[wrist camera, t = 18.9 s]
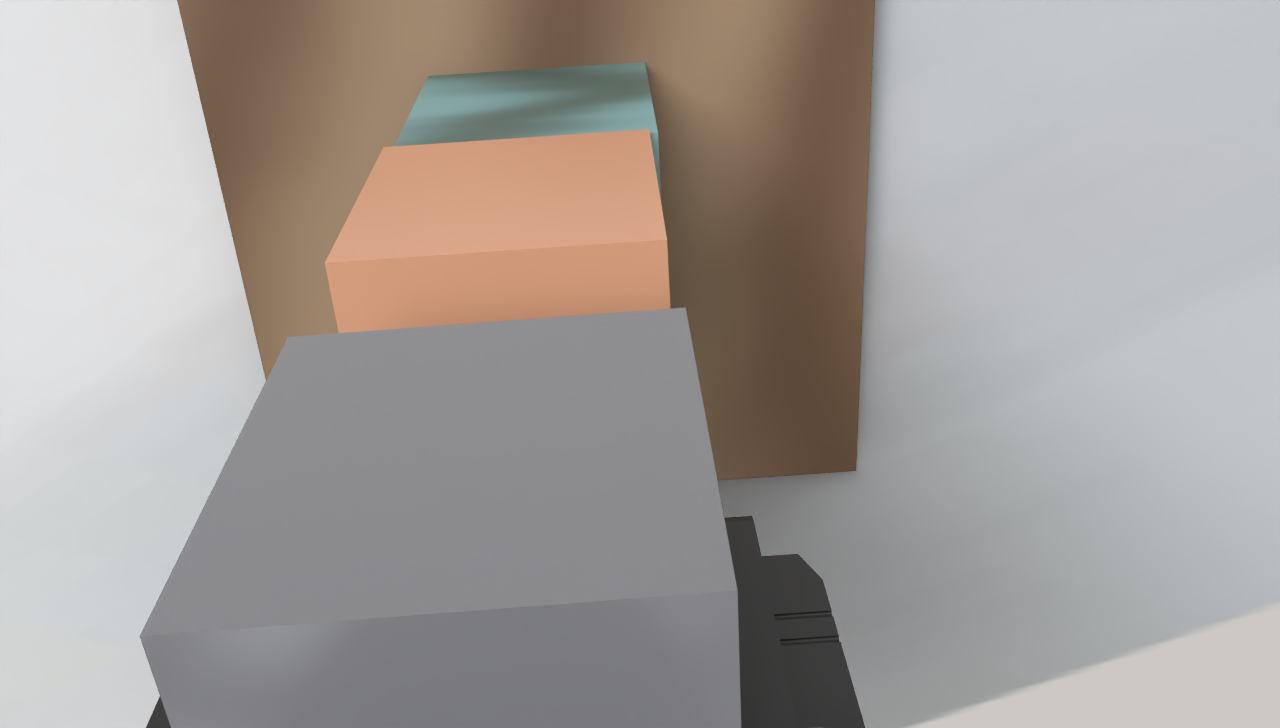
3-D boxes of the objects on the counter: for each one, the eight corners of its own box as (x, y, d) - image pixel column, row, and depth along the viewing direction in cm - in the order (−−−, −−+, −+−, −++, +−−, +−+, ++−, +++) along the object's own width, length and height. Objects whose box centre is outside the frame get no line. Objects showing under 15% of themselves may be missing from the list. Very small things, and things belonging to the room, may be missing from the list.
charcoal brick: (685, 307, 13) (736, 590, 9) (707, 754, 16) (751, 1123, 12) (288, 336, 13) (139, 637, 9) (389, 779, 16) (317, 1158, 12)
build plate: (869, -139, 23) (951, -107, 18) (847, 449, 30) (903, 599, 25) (172, -97, 23) (50, -50, 18) (304, 486, 30) (243, 645, 25)
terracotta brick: (649, 128, 20) (666, 239, 15) (667, 474, 23) (686, 647, 19) (383, 147, 20) (325, 263, 15) (440, 490, 23) (405, 667, 19)
